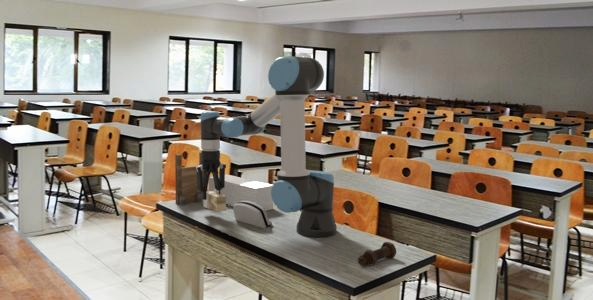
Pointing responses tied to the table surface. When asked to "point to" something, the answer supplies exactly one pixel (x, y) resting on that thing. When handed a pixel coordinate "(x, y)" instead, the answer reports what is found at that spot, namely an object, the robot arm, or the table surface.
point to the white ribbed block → (245, 191)
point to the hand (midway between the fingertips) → (211, 206)
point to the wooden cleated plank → (186, 182)
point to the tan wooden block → (216, 201)
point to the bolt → (377, 254)
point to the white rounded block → (251, 214)
